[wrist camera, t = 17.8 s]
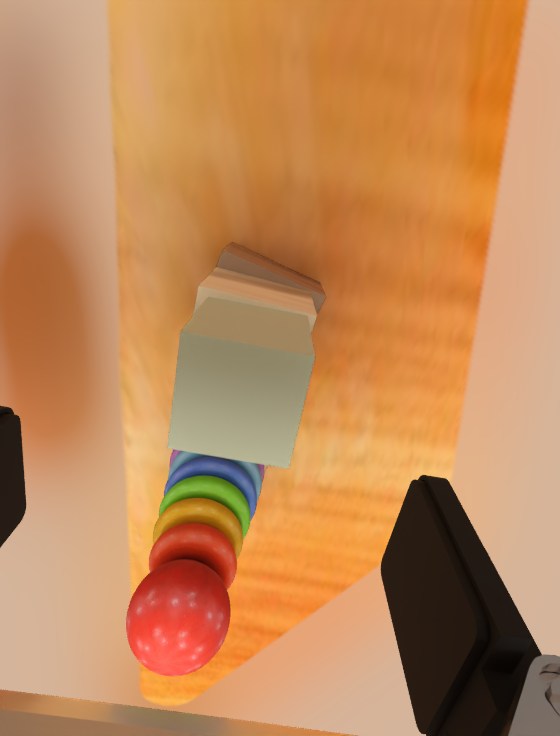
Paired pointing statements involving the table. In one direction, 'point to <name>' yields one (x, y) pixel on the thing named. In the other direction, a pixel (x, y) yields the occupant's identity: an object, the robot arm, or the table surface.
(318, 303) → the walnut base
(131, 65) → the table surface
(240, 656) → the table surface
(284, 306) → the maple block
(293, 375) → the sage block
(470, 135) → the table surface
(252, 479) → the stacking toy
